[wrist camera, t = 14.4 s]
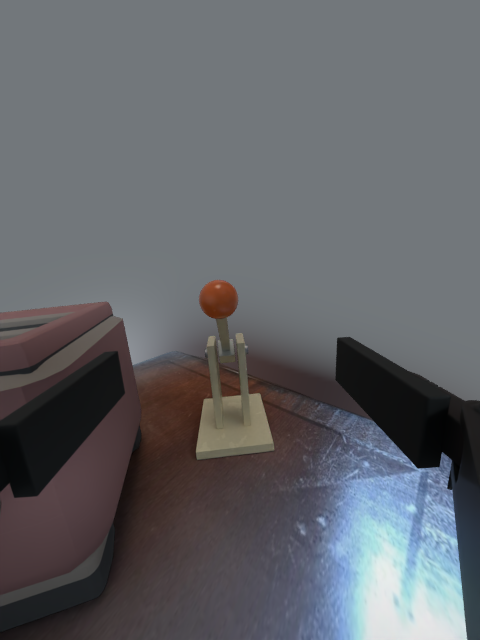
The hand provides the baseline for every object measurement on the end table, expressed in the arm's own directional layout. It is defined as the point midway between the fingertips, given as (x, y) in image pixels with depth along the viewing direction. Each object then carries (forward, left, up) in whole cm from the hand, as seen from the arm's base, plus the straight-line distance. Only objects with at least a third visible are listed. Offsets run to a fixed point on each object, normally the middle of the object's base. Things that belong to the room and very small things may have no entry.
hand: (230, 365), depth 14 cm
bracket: (+18, -4, -18) cm, 26 cm away
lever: (+12, -3, -3) cm, 12 cm away
